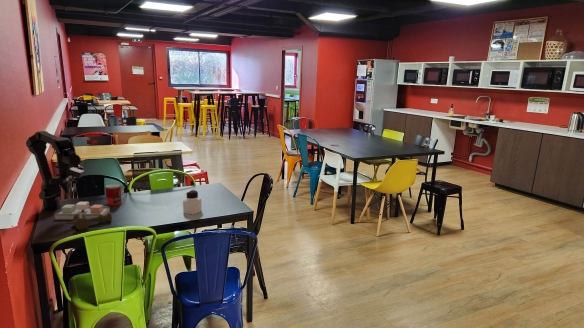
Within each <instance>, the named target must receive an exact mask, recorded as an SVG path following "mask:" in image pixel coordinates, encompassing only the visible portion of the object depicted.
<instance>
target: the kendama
mask: <svg viewBox="0 0 584 328" xmlns="http://www.w3.org/2000/svg"><path fill="white" fill-rule="evenodd" d="M112 217H113V216H112V213H111V211H110V212H108V213H107V214H100V215H99V216H96V217H93V218H89V219H86V217H85V215H84V214H76V215H75V216H74V217H73V219H72V221H69V222H65V225H72V224H73V225H74V226H75V228H76V230H78V231H84V230H86V229H88V228H89V227H90V223H91V222H98V223H104V222H109V223H112V221H113V220H112V219H113V218H112Z"/></svg>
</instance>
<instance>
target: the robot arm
mask: <svg viewBox="0 0 584 328" xmlns="http://www.w3.org/2000/svg"><path fill="white" fill-rule="evenodd" d="M25 144H26V145H25V146H26V147H27V149H28V151H29V152H30V153H31V154H32V155H33V156H34V159H35V161H36V164H37V167H38V171H39V173H40V176H41V179H42V183H41V185H40V189H41V190H40V192H39V194H38V197H39V199H40V200H42V205H43V208H42V209H41V210H42V211H56V210H57V209H58V208H60V207H61V204H60V199H59V197H61V195H62V190H63V191H64V193H65V194H69V192H70V190H71V189H70V188H71V184H72V182H73V181H74V180H75V179H76V178H77V179H81V178H82V177H83V176H84V174H85V169H84V166H82V165H81V166H79V167H77V166H78V165H80V163H81V161H82V159H81V156H79V155H78V154H77V152H76V148H75V146H74V145H73V143H72V141H71V140H70V138H68V137H61V136H60V137H59V136H57V135H55V134H52V133H50V132H48V131H47V130H40V131H36V132H35V133H34V134H32V135H31V136H29V137H28V138H27V139H26V142H25ZM47 144H48V145H50V146H51V148H52V149H53V150H54V154H55V155H56V162H57V165H56V166H55V168H56V169H57V172H58V173H56V176H53V174H52V171H51V168H50V165H49V161H48V158H47V155H46V150H47V148H48V147H47Z"/></svg>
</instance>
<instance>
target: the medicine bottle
mask: <svg viewBox="0 0 584 328" xmlns="http://www.w3.org/2000/svg"><path fill="white" fill-rule="evenodd" d="M185 193H186V195H185V196H186V198H185V199H184V200H183V201H182V210H183V212H182V213H183V214H186V215H191V214H192V215H193V216H195V215H197V214H199V213H200V211H201V212H202V211H203V210H202V198H199V192H198V191H197V190H195V189H192V190H191V189H189V190H187V191H186V192H185ZM198 212H199V213H198Z"/></svg>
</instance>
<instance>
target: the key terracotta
mask: <svg viewBox="0 0 584 328" xmlns="http://www.w3.org/2000/svg"><path fill="white" fill-rule="evenodd" d="M91 206H92V207H90V212H91V213H100V212H101V211H103V206H104V205H103V204H93V205H91Z"/></svg>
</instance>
